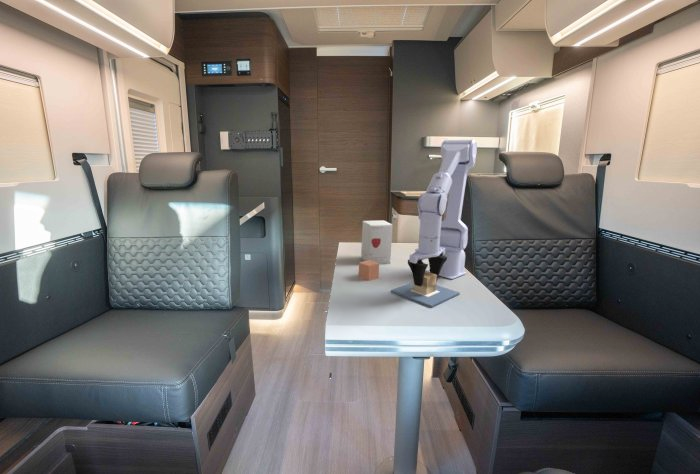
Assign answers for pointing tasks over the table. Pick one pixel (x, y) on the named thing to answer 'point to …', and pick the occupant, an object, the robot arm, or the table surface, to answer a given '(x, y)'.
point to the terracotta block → (368, 270)
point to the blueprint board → (429, 299)
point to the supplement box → (376, 241)
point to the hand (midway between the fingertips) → (426, 282)
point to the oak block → (427, 284)
